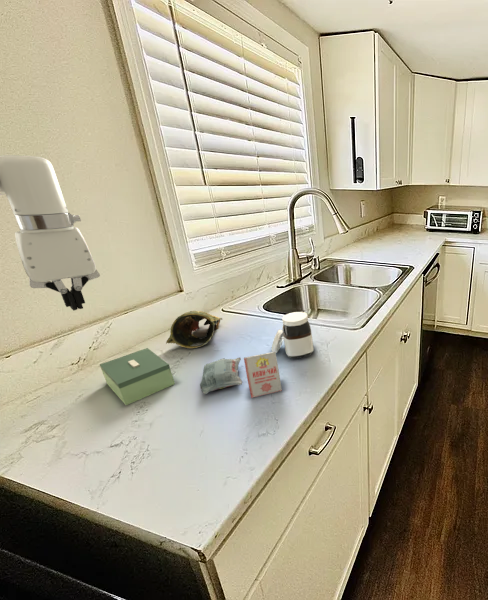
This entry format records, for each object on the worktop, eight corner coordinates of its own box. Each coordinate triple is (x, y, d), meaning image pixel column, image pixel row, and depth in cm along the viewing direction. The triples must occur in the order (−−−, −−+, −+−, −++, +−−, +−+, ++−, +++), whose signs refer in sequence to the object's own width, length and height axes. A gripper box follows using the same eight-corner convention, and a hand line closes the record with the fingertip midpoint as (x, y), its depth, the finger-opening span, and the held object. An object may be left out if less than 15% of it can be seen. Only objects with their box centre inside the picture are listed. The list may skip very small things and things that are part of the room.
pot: (227, 298, 113) (210, 300, 95) (242, 327, 114) (228, 334, 97) (176, 320, 109) (149, 326, 92) (193, 349, 111) (169, 361, 93)
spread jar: (316, 357, 93) (312, 320, 88) (275, 367, 88) (268, 329, 84) (308, 340, 103) (304, 305, 99) (270, 348, 98) (264, 312, 94)
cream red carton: (251, 390, 79) (244, 354, 75) (280, 383, 81) (274, 348, 78) (251, 398, 76) (243, 361, 72) (282, 391, 78) (275, 355, 75)
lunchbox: (117, 382, 71) (168, 362, 79) (98, 363, 79) (147, 346, 87) (126, 406, 74) (175, 384, 81) (107, 385, 82) (153, 367, 89)
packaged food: (242, 366, 89) (238, 350, 87) (243, 390, 79) (239, 373, 77) (206, 374, 85) (201, 358, 84) (202, 401, 75) (197, 383, 74)
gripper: (90, 218, 73) (114, 295, 79) (-15, 225, 61) (24, 314, 68) (99, 220, 68) (124, 302, 75) (-11, 228, 57) (30, 323, 64)
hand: (76, 308), depth 71 cm, fingers closed
